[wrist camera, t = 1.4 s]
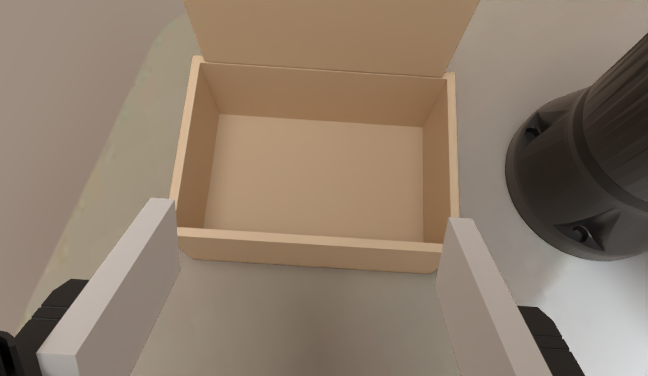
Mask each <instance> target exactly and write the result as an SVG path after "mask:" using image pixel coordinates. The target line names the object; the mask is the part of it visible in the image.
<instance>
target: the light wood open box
mask: <svg viewBox="0 0 648 376" xmlns="http://www.w3.org/2000/svg"><path fill="white" fill-rule="evenodd" d="M169 199H175V209H176V222H177V234H178V246H179V248H180V249H181V250H182V251H184V252H185V253H186V254H187V255H189V256H190V257H191V258H192V259H197V260H213V261H229V262H245V263H261V264H277V265H293V266H309V267H325V268H341V269H357V270H373V271H389V272H405V273H421V274H430V273H432V272H433V271H435V270H436V269H438V267H439V262H440V257H441V252H442V247H443V242H444V237H445V232H446V227H447V222H448V218H449V217H455V218H460V217H459V186H458V156H457V126H456V95H455V73H451V72H445V73H444V75H443V77H434V76H419V75H404V74H389V73H374V72H359V71H344V70H329V69H314V68H299V67H284V66H269V65H254V64H239V63H224V62H209V61H204V58H203V56H196V55H193V59H192V65H191V71H190V77H189V83H188V89H187V95H186V101H185V107H184V113H183V119H182V125H181V131H180V137H179V143H178V149H177V155H176V161H175V166H174V172H173V178H172V184H171V190H170V196H169Z"/></svg>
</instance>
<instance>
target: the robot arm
mask: <svg viewBox="0 0 648 376" xmlns="http://www.w3.org/2000/svg"><path fill="white" fill-rule="evenodd" d="M506 179H507V184H508V188H509V192H510V195H511V197H512V200H513V202H514V204H515V206H516V208H517V210H518V211H519V213H520V215H521V216H522V217H523V219H524V220H525V221H526V223H527V224H528V225H529V226H530V227H531V228H532V229H533V230H534V231H535V232H536V233H537V234H538V235H539V236H540V237H541V238H543V239H544V240H545V241H546V242H548V243H549V244H551V245H552V246H554V247H556V248H558V249H560V250H561V251H563V252H566V253H568V254H571V255H573V256H576V257H580V258H584V259H589V260H596V261H611V260H619V259H623V258H627V257H630V256H634V255H637V254H640V253H643V252H646V251H648V33H647V34H646V35H645V36H644V37H643V38H642V39H641V40H640V41H639V42H638V43H637V44H636V45H635V46H633V47H632V48H631V49H630V50H629V51H628V52H627V53H626V54H625V55H624V56H623V57H622V58H621V59H620V60H619V61H618V62H617V63H615V64H614V65H613V66H612V67H611V68H610V69H609V70H608V71H607V72H606V73H605V74H603V75H602V76H601V77H600V78H599V79H598V80H597V81H596V82H595V83H594V84H593V85H592V86H591V87H588V88H585V89H582V90H579V91H577V92H574V93H571V94H568V95H566V96H563V97H560V98H557V99H555V100H553V101H551V102H549V103H547V104H545V105H544V106H542V107H541V108H539V109H538V110H537V111H536V112H534V113H533V114H532V115H531V116H530V117H529V118H528V119H527V120H526V122H525V123H524V124H523V125H522V126H521V127H520V128H519V129H518V131H517V132H516V134H515V135H514V137H513V139H512V141H511V143H510V146H509V149H508V153H507V158H506ZM179 272H180V258H179V246H178V234H177V222H176V209H175V199H163V198H150V199H149V201H148V202H147V203H146V205H145V206H144V207H143V209H142V210H141V211H140V213H139V214H138V216H137V217H136V218H135V220H134V221H133V222H132V224H131V225H130V226H129V228H128V229H127V230H126V232H125V233H124V235H123V236H122V237H121V239H120V240H119V241H118V243H117V244H116V245H115V247H114V248H113V249H112V251H111V252H110V253H109V255H108V256H107V258H106V259H105V260H104V262H103V263H102V264H101V266H100V267H99V268H98V270H97V271H96V272H95V274H94V275H93V276H92V278H91V279H90V280H80V279H70V280H69V281H67V282H66V283H64V284H63V285H61V286H60V287H58V288H57V289H55V290H54V291H52V293H51V294H50V295H49V296H48V298H47V299H46V300H45V301H44V302H43V304H42V305H41V308H39V309H38V310H37V311H36V312H35V313H34V315H33V316H32V319H31V320H29V321H28V322H27V323H26V324H25V326H24V327H23V328H22V329H21V330H20V332H19V333H18V334H17V335H16V336H15V338H14V337H13V336H12V335H10V334H9V333H8V332H4V331H0V376H130V374H131V372H132V370H133V368H134V366H135V364H136V362H137V360H138V358H139V356H140V353H141V351H142V349H143V347H144V345H145V343H146V341H147V339H148V337H149V335H150V333H151V330H152V328H153V326H154V324H155V322H156V320H157V318H158V316H159V314H160V312H161V310H162V308H163V305H164V303H165V301H166V299H167V297H168V295H169V293H170V291H171V289H172V287H173V285H174V283H175V280H176V278H177V276H178V274H179ZM435 289H436V293H437V296H438V300H439V303H440V306H441V310H442V313H443V316H444V320H445V323H446V327H447V330H448V333H449V337H450V340H451V343H452V347H453V350H454V353H455V357H456V360H457V364H458V367H459V370H460V374H461V376H585V375H584V373H583V371H582V370H581V368H580V366H579V364H578V363H577V361H576V359H575V358H574V356H573V354H572V353H571V352H569V347H568V346H567V344H566V342H565V341H564V339H562V336H561V334H560V332H559V330H558V329H557V327H556V325H555V324H554V322H553V321H552V320H551V319H550V318H549V317H548V316H547V315H546V314H545V313H543V312H542V311H541V310H540V309H539V308H538V307H527V306H517V305H516V303H515V301H514V299H513V297H512V295H511V293H510V292H509V290H508V288H507V286H506V284H505V282H504V280H503V278H502V276H501V274H500V272H499V270H498V268H497V266H496V264H495V262H494V260H493V258H492V256H491V254H490V252H489V250H488V248H487V246H486V245H485V243H484V241H483V239H482V237H481V235H480V233H479V231H478V229H477V227H476V225H475V223H474V221H473V219H470V218H455V217H449V218H448V222H447V227H446V232H445V237H444V242H443V247H442V252H441V257H440V262H439V267H438V272H437V277H436V281H435Z"/></svg>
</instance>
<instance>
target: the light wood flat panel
mask: <svg viewBox="0 0 648 376" xmlns="http://www.w3.org/2000/svg"><path fill="white" fill-rule="evenodd" d="M479 1H480V0H183V2H184V5H185V8H186V10H187V13H188V16H189V19H190V22H191V24H192V27H193V30H194V33H195V36H196V38H197V41H198V44H199V47H200V49H201V52H202V55H203V58H204V61H209V62H224V63H239V64H254V65H269V66H284V67H299V68H314V69H329V70H344V71H359V72H374V73H389V74H404V75H419V76H434V77H443V75H444V73H445V71H446V69H447V67H448V65H449V63H450V61H451V59H452V57H453V55H454V53H455V50H456V48H457V46H458V44H459V42H460V40H461V38H462V36H463V34H464V32H465V30H466V28H467V26H468V24H469V22H470V20H471V18H472V16H473V14H474V11H475V9H476V7H477V5H478V3H479Z"/></svg>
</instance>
